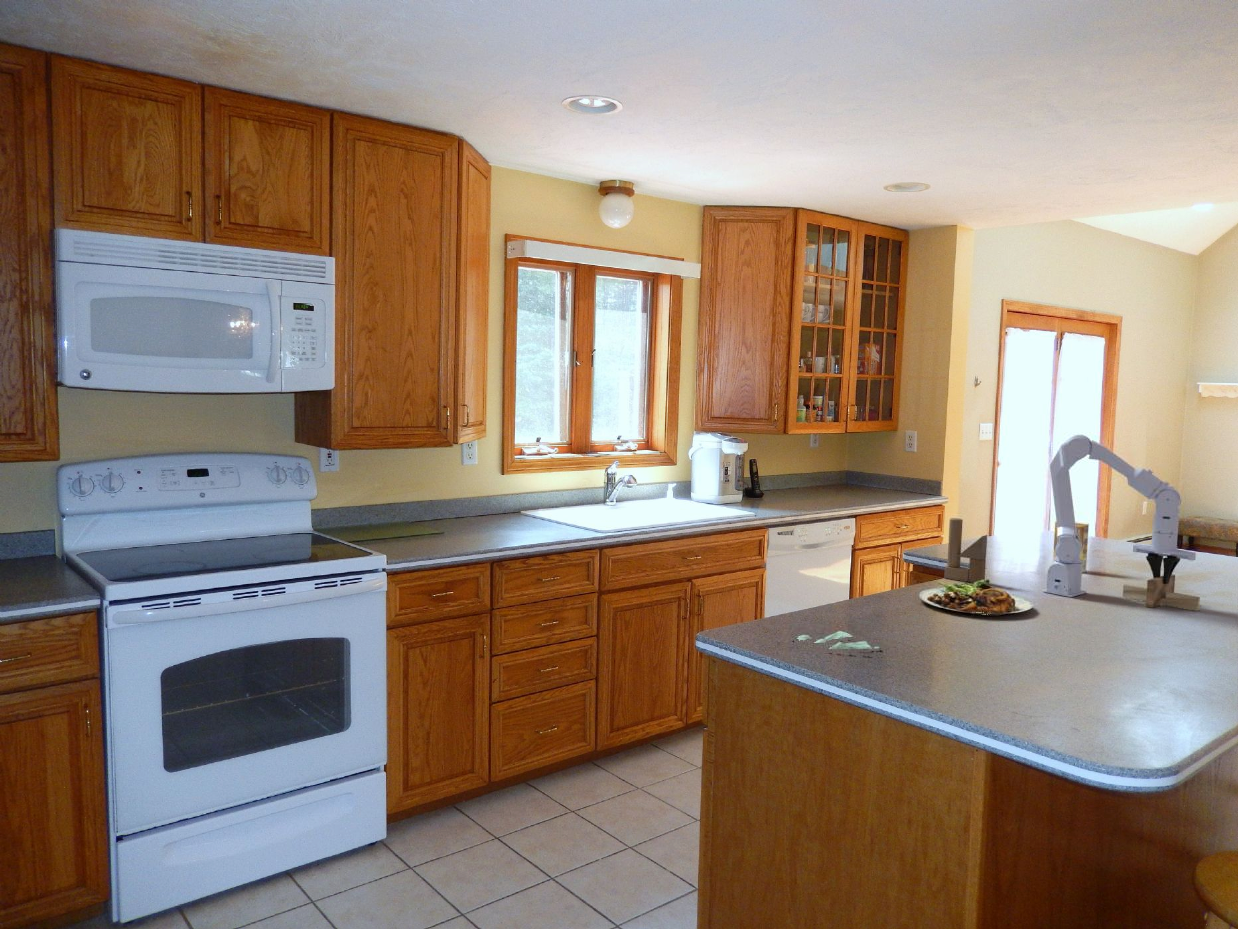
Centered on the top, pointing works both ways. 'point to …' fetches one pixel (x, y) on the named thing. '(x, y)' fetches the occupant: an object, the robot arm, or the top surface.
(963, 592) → the plate of food
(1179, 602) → the birch board
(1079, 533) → the candy box
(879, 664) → the top surface
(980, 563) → the wooden block
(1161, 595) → the wooden plank
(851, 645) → the cloth
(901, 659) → the top surface
